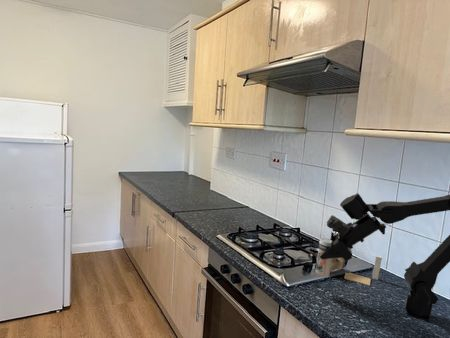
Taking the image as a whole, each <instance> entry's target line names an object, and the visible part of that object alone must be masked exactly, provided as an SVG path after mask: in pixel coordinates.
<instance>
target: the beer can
mask: <svg viewBox="0 0 450 338" xmlns="http://www.w3.org/2000/svg"><path fill="white" fill-rule="evenodd" d="M331 242H332V240H330V239H329V238H320V239H319V243H318V250H317V258H316V265H315V270H314V272H315V273H316V275H318V276H320V277H324V278H326V277H329V276H330V274H331V273H330V268H331V261H332V258H330V259H321V258H320V256H321V255H322V254H323V253H324V252H325V251H326V250H327V249H328V248H329V247H330V246H331Z"/></svg>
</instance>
